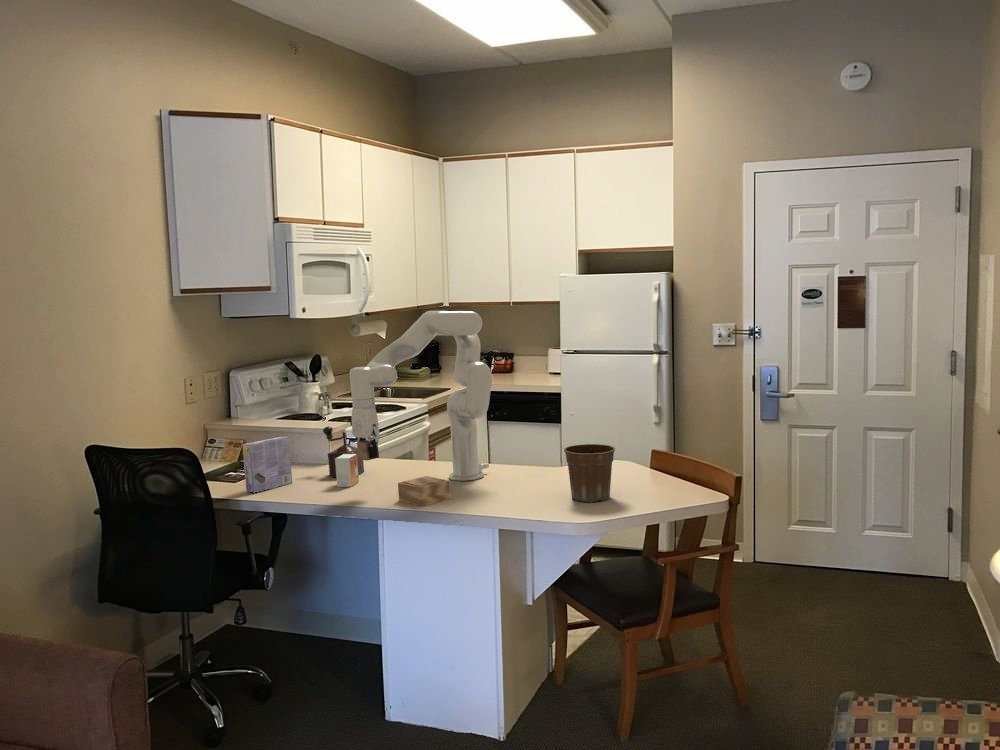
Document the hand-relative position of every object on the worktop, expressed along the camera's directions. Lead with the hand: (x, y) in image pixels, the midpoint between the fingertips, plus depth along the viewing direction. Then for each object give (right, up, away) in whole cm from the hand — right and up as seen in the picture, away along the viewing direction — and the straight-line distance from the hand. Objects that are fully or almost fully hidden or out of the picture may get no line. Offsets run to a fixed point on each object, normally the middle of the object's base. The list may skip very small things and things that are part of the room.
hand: (368, 456), depth 308 cm
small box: (-10, -12, +20) cm, 26 cm away
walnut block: (0, -1, 0) cm, 1 cm away
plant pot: (+74, -12, -17) cm, 77 cm away
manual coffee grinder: (-16, -11, +38) cm, 42 cm away
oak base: (+20, -14, -8) cm, 25 cm away
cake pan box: (-38, -14, +21) cm, 46 cm away
